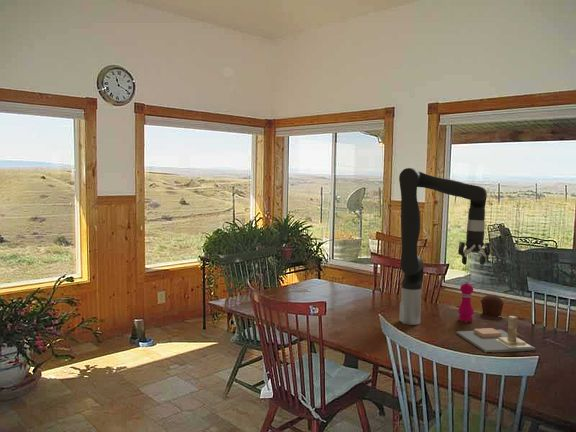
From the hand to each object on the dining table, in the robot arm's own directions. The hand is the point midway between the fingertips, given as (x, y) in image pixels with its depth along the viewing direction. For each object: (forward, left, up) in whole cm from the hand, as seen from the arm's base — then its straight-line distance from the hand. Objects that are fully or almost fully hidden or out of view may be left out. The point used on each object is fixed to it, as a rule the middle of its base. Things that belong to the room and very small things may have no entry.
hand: (473, 264), depth 219 cm
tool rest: (+7, -22, -30) cm, 38 cm away
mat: (+2, -16, -31) cm, 35 cm away
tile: (+7, -10, -29) cm, 31 cm away
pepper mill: (+6, +15, -31) cm, 35 cm away
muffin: (+25, +23, -31) cm, 46 cm away
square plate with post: (+7, -21, -30) cm, 37 cm away
